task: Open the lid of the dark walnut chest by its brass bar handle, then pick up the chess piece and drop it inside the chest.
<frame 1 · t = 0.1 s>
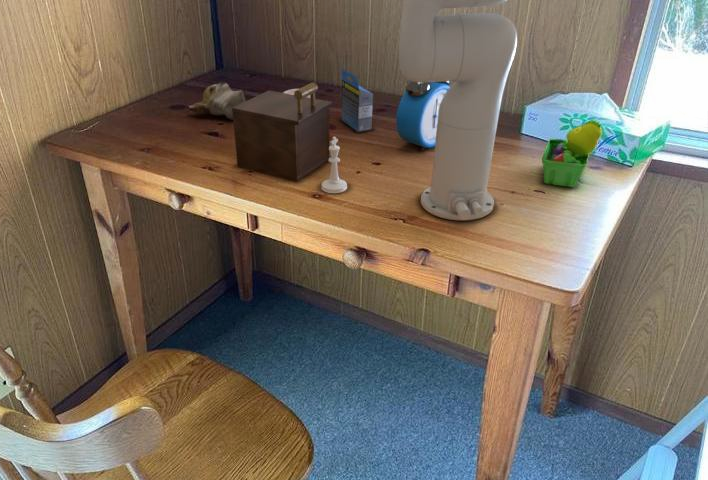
lid: (282, 95, 118), point 14 cm above the table, hinge at 0.0°
blue cardboard box: (356, 126, 142), on the table
ceramic sculpture: (221, 115, 151), on the table
chest: (283, 162, 126), on the table
fruit basket: (564, 177, 116), on the table
chess piece: (334, 188, 116), on the table
teacup: (299, 120, 146), on the table
alarm clock: (423, 144, 132), on the table
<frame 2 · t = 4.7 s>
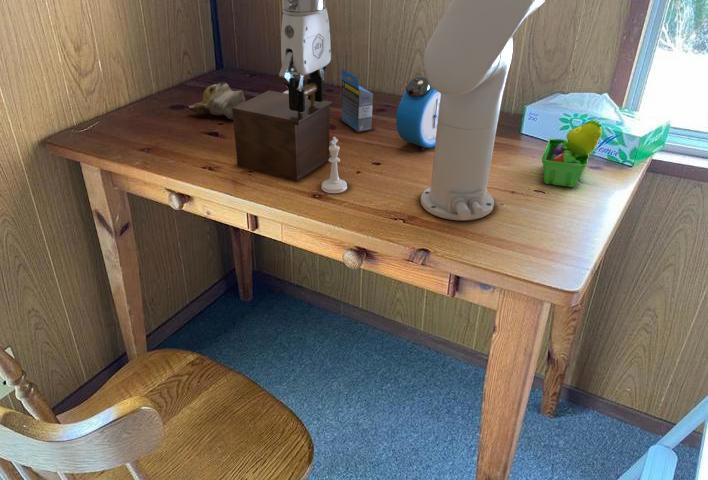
hand: (306, 104, 116), 13 cm above the table, tool pointing down, fingers closed on lid, 5 cm apart
lid: (282, 95, 118), point 14 cm above the table, hinge at 0.0°, touching gripper
everything else where it was.
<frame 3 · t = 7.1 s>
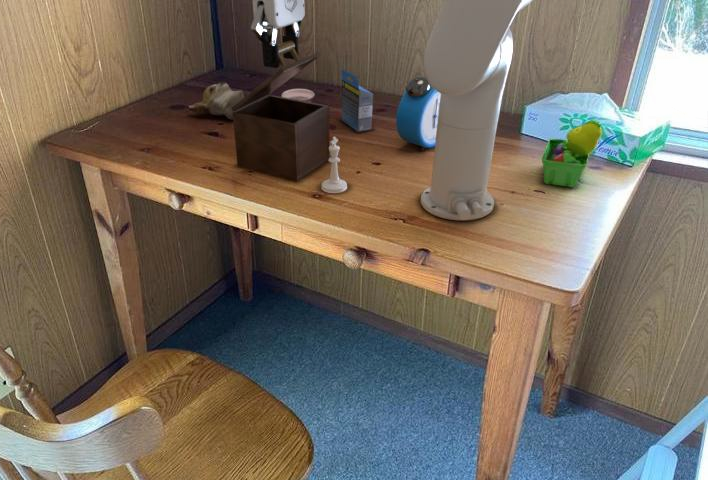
hand: (281, 61, 114), 20 cm above the table, tool pointing down, fingers closed on lid, 5 cm apart
lid: (269, 71, 117), point 18 cm above the table, hinge at 36.5°, touching gripper
everything else where it was.
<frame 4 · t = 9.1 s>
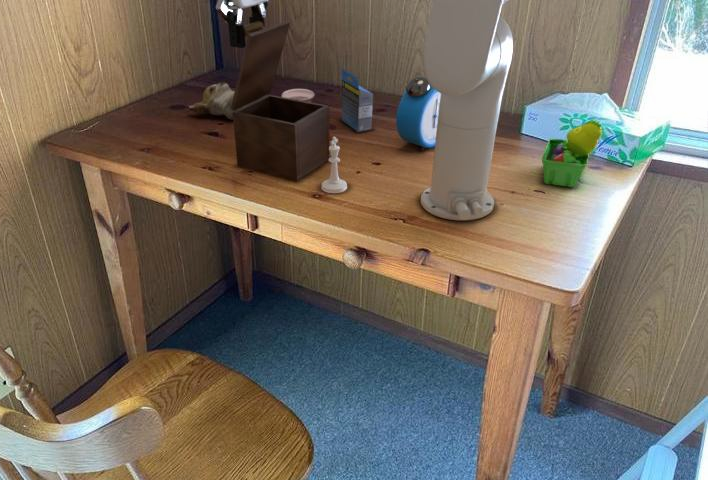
hand: (248, 42, 116), 23 cm above the table, tool pointing down, fingers closed on lid, 5 cm apart
lid: (251, 60, 118), point 20 cm above the table, hinge at 68.2°, touching gripper
everything else where it was.
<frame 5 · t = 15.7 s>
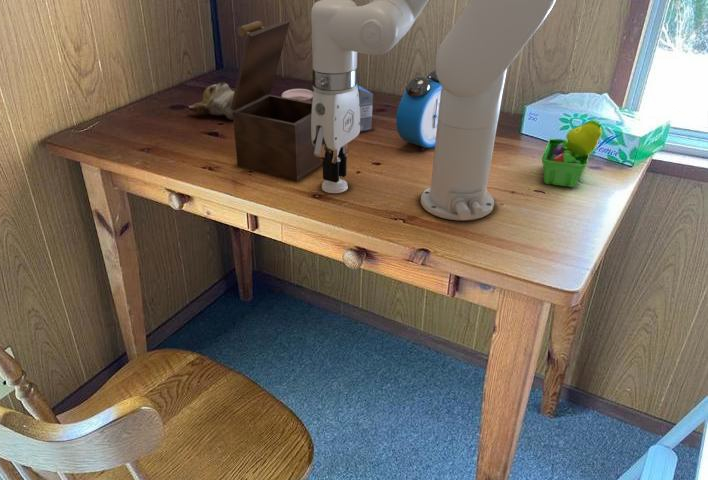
hand: (334, 177, 114), 2 cm above the table, tool pointing down, fingers closed on chess piece
lid: (251, 60, 118), point 20 cm above the table, hinge at 68.6°
chess piece: (334, 188, 116), on the table, touching gripper
everything else where it was.
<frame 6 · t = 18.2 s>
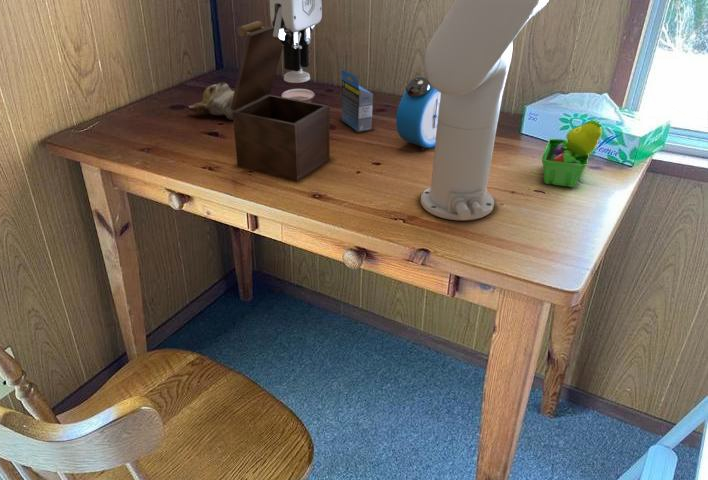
hand: (296, 67, 112), 20 cm above the table, tool pointing down, fingers closed on chess piece
chess piece: (296, 80, 113), point 18 cm above the table, touching gripper
everything else where it was.
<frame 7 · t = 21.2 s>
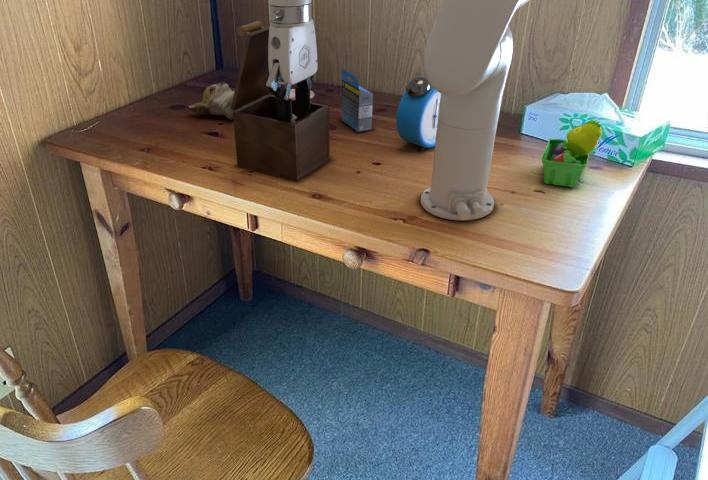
hand: (293, 113, 118), 11 cm above the table, tool pointing down, fingers open, 5 cm apart
chess piece: (296, 161, 124), point 1 cm above the table, touching chest
everything else where it was.
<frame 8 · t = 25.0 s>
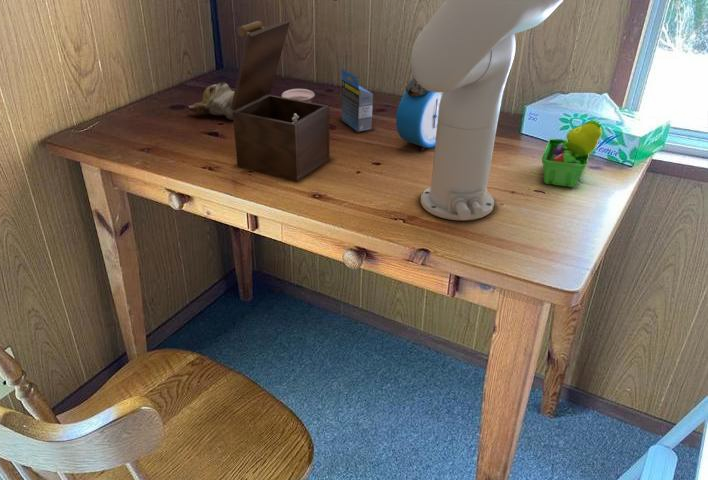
nothing on the table moved.
at the end: lid at +69° (first picture: +0°); chess piece inside the target area in the chest (3.3 cm from its centre), point 0.7 cm above the chest's base; the gripper is holding nothing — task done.
